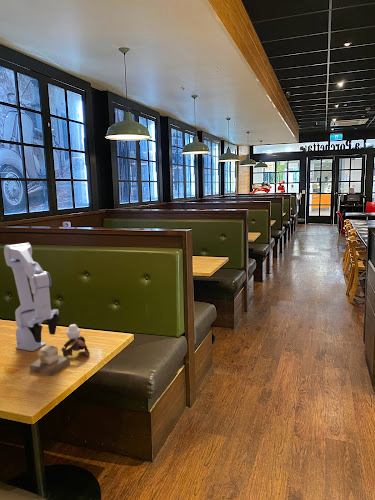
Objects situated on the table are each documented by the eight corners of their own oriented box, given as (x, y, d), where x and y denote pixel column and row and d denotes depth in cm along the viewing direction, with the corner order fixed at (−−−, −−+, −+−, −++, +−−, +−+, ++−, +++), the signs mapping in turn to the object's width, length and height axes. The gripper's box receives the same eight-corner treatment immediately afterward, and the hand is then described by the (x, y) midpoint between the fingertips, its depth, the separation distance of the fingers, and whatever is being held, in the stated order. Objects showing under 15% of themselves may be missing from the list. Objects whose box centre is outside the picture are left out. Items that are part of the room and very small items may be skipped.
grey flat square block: (30, 372, 138) (29, 364, 138) (49, 360, 147) (48, 353, 147) (51, 377, 134) (50, 369, 134) (70, 364, 144) (69, 357, 143)
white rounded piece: (65, 337, 167) (64, 323, 166) (79, 335, 170) (78, 320, 168) (67, 343, 162) (66, 327, 160) (82, 340, 164) (80, 325, 163)
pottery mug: (87, 362, 145) (75, 347, 142) (68, 370, 147) (55, 356, 144) (95, 342, 156) (84, 327, 153) (77, 350, 158) (65, 336, 155)
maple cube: (40, 362, 139) (39, 349, 138) (49, 357, 143) (48, 345, 142) (49, 364, 137) (48, 351, 137) (58, 359, 142) (57, 346, 141)
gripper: (36, 311, 134) (39, 347, 136) (63, 299, 147) (66, 332, 150) (21, 309, 136) (25, 344, 139) (49, 297, 150) (52, 329, 152)
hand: (45, 338), depth 144 cm, fingers open, 7 cm apart
